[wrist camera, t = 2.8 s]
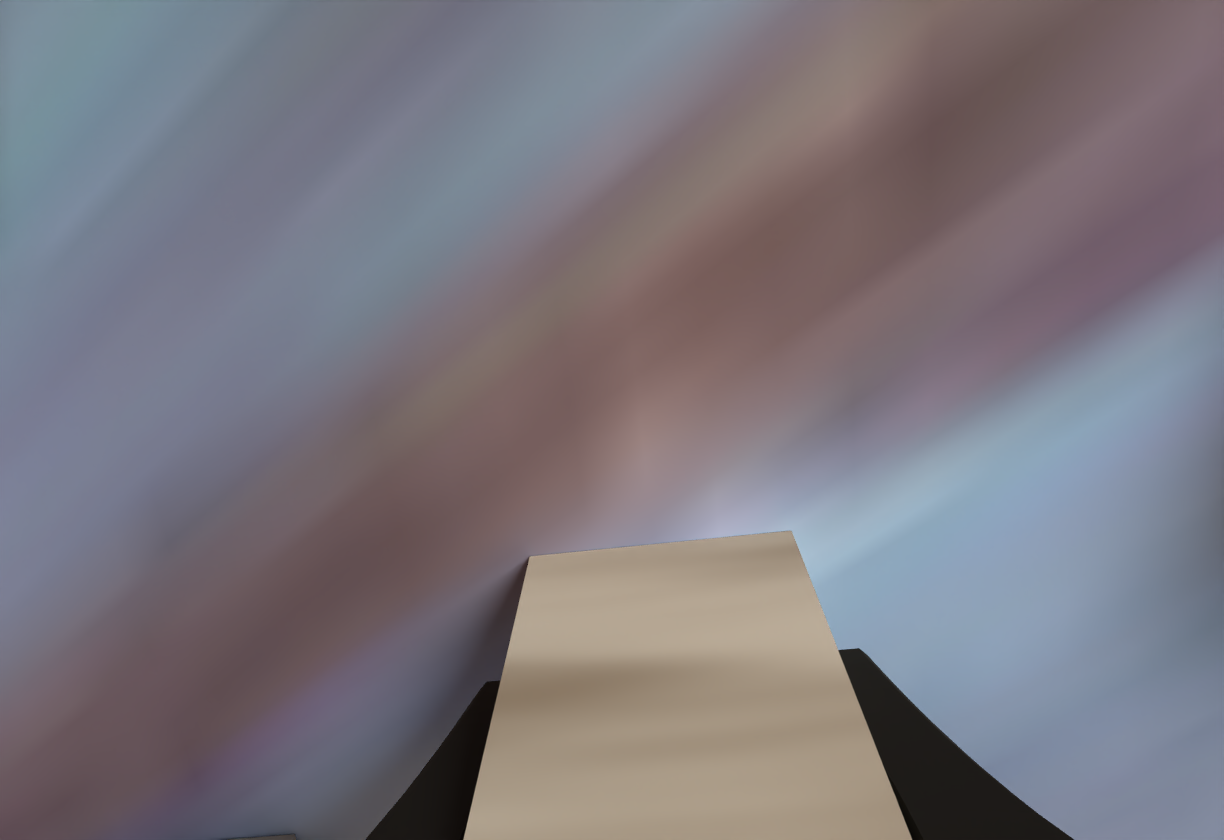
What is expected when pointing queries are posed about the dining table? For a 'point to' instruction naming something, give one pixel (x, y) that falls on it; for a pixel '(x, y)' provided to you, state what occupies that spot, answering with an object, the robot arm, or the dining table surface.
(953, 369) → the dining table surface
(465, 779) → the robot arm
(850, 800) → the block
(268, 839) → the base
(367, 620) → the dining table surface
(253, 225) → the dining table surface
